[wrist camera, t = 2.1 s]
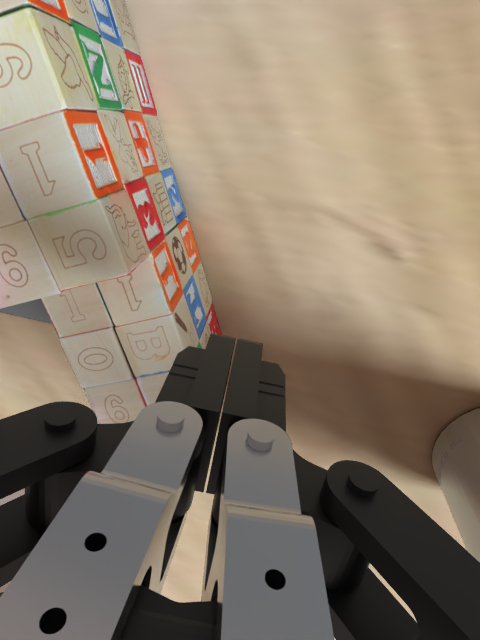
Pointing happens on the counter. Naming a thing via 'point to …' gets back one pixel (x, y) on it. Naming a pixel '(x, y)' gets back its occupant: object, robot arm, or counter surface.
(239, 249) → the counter surface
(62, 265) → the stack of blocks
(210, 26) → the counter surface
